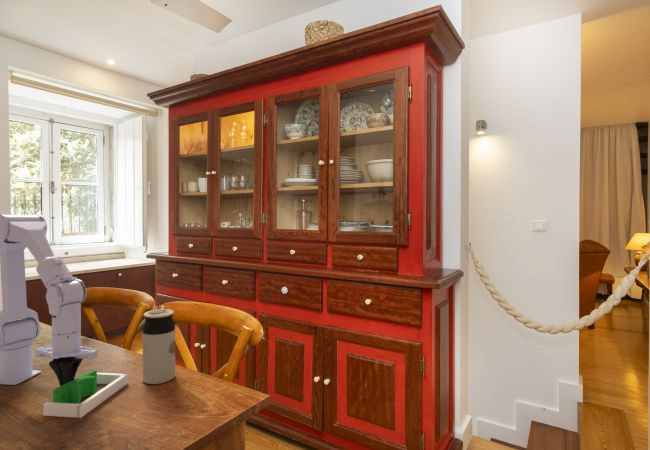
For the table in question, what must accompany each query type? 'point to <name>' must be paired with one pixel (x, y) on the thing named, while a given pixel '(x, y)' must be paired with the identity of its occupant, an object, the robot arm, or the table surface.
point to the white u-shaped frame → (82, 409)
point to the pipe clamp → (76, 389)
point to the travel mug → (158, 346)
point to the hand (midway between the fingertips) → (66, 387)
